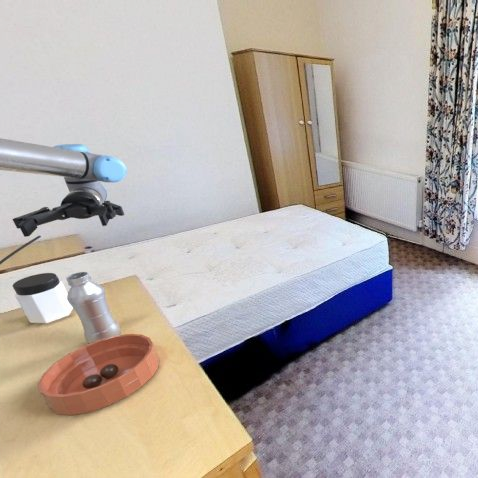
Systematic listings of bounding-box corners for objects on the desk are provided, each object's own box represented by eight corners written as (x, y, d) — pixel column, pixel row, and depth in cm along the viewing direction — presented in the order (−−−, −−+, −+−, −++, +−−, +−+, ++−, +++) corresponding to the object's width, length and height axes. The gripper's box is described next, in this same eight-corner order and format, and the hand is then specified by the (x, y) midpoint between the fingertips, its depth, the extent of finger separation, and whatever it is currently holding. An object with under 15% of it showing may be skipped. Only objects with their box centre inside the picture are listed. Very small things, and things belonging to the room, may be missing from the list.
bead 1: (88, 371, 71) (106, 372, 72) (83, 384, 71) (101, 385, 72) (82, 377, 68) (101, 379, 70) (77, 391, 68) (96, 392, 70)
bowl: (47, 384, 72) (34, 364, 69) (148, 342, 85) (141, 324, 82) (56, 435, 61) (42, 413, 59) (170, 378, 74) (162, 358, 72)
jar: (66, 319, 92) (48, 284, 87) (25, 328, 88) (4, 291, 83) (78, 303, 99) (62, 269, 94) (40, 310, 95) (21, 275, 90)
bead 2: (112, 359, 74) (118, 366, 75) (95, 367, 72) (101, 375, 73) (117, 367, 72) (122, 374, 74) (99, 376, 70) (106, 383, 72)
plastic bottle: (83, 346, 82) (49, 280, 74) (112, 330, 88) (84, 267, 80) (100, 352, 81) (68, 285, 73) (130, 335, 87) (103, 271, 79)
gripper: (141, 208, 103) (135, 230, 87) (25, 222, 89) (-6, 251, 74) (133, 186, 100) (126, 203, 84) (12, 197, 86) (-23, 220, 71)
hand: (65, 225), depth 79 cm, fingers open, 13 cm apart
